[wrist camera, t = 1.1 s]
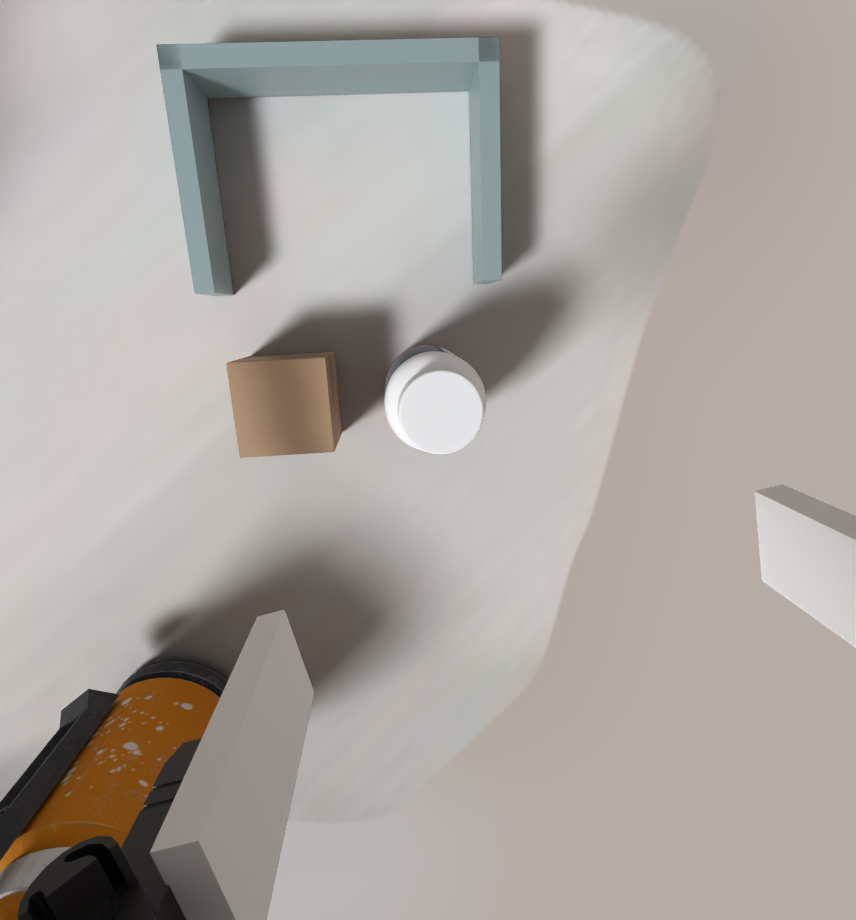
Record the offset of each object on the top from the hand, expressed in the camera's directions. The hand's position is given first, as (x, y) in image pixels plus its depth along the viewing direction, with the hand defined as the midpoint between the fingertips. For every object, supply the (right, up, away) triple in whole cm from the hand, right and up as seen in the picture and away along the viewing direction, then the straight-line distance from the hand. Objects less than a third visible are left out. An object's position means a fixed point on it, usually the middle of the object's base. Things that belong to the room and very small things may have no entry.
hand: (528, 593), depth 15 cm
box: (-7, +19, +15) cm, 25 cm away
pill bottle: (-3, +8, +19) cm, 21 cm away
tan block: (-11, +8, +18) cm, 23 cm away
